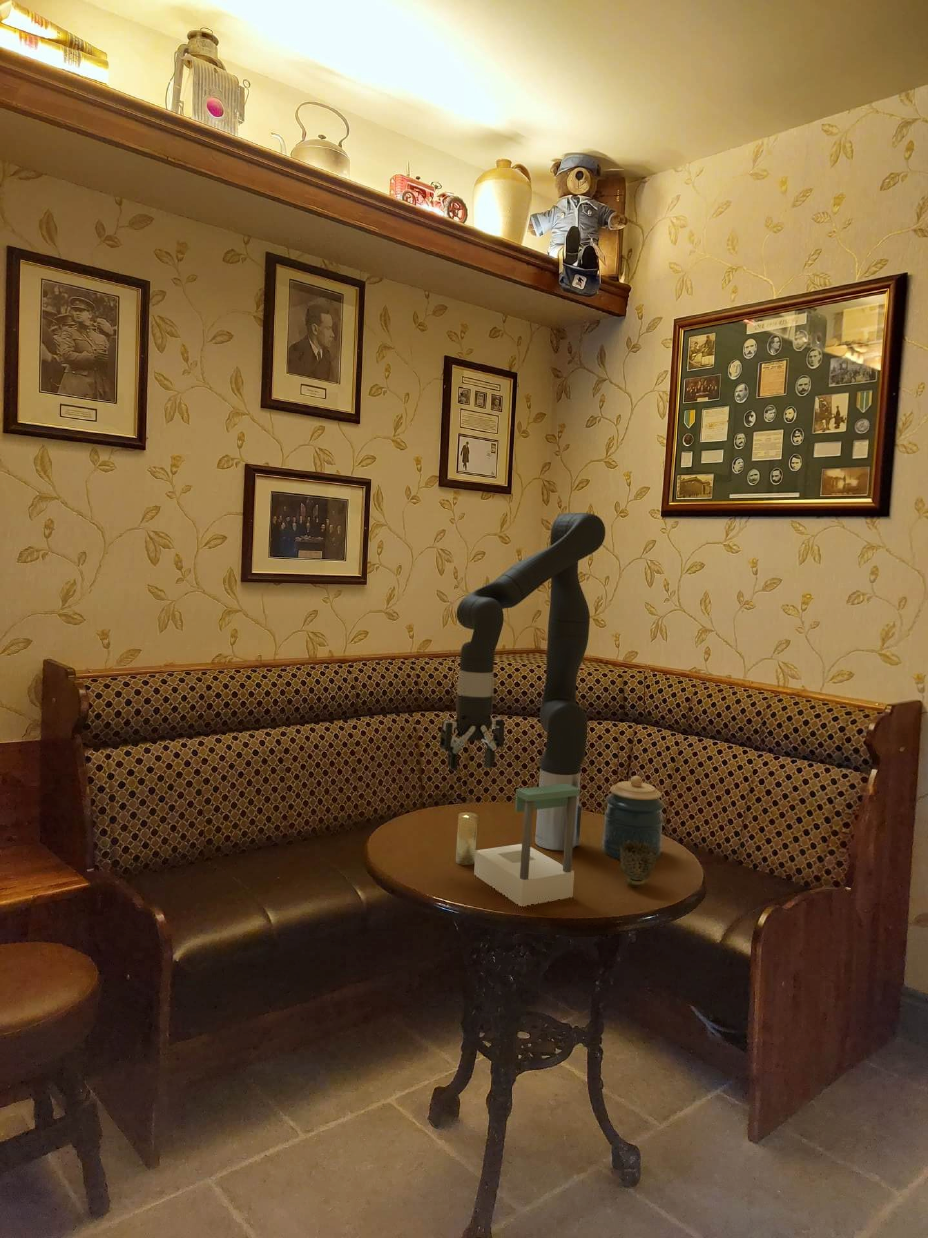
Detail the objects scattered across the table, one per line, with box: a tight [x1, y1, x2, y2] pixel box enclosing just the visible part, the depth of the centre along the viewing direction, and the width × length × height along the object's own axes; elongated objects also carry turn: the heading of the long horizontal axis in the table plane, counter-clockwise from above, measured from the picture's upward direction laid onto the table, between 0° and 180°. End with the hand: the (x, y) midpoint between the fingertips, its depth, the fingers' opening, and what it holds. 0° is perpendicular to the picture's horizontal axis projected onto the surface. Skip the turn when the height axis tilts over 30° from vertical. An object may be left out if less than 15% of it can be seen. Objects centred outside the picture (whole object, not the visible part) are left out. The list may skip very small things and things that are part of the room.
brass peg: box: [455, 811, 478, 866], centre depth 177 cm, size 4×4×10 cm
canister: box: [601, 775, 666, 861], centre depth 188 cm, size 13×13×18 cm
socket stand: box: [473, 784, 581, 908], centre depth 166 cm, size 12×17×21 cm
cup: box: [619, 841, 657, 888], centre depth 170 cm, size 8×7×8 cm
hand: (470, 768), depth 176 cm, fingers open, 8 cm apart
